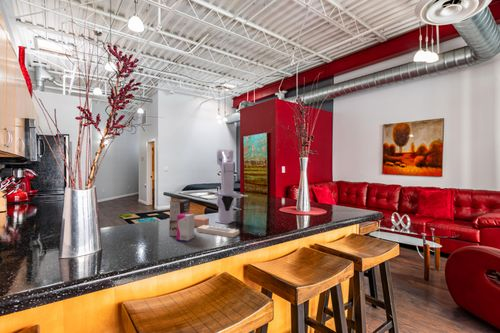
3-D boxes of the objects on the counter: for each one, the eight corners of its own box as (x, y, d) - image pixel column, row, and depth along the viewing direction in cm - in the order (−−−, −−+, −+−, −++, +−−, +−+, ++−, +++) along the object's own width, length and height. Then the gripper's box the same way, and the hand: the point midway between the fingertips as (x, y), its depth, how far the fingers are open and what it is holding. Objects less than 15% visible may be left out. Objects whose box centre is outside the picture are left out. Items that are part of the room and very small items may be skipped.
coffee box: (181, 237, 120) (182, 202, 120) (168, 235, 122) (169, 201, 121) (189, 231, 129) (190, 199, 129) (177, 230, 131) (178, 198, 130)
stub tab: (190, 223, 146) (190, 215, 146) (208, 225, 142) (208, 218, 142) (184, 224, 142) (184, 217, 142) (203, 227, 137) (203, 220, 137)
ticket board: (204, 228, 136) (204, 224, 136) (239, 233, 129) (239, 229, 129) (196, 231, 130) (196, 227, 130) (232, 237, 122) (232, 232, 122)
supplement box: (194, 238, 119) (195, 213, 119) (188, 242, 113) (188, 215, 113) (182, 237, 120) (183, 212, 120) (176, 240, 115) (176, 214, 114)
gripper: (212, 184, 137) (211, 210, 137) (237, 186, 131) (236, 213, 131) (219, 183, 143) (218, 208, 144) (243, 185, 138) (242, 211, 138)
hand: (227, 210), depth 138 cm, fingers closed
